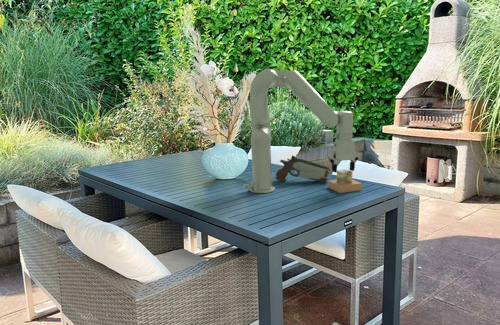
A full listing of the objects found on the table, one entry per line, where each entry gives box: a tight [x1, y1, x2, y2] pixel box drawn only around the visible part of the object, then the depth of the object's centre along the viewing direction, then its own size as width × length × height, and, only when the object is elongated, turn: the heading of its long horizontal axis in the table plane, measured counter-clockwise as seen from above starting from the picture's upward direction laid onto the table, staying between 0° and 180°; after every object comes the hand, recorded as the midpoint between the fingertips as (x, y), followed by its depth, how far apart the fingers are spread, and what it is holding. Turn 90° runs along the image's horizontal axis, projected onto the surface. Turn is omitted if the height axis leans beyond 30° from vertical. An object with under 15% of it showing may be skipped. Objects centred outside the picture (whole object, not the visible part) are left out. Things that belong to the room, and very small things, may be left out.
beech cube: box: [336, 169, 353, 184], centre depth 211 cm, size 6×6×6 cm
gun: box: [274, 155, 331, 184], centre depth 230 cm, size 5×27×15 cm, turn 79°
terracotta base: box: [327, 179, 363, 194], centre depth 212 cm, size 12×12×4 cm
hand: (343, 171), depth 211 cm, fingers open, 9 cm apart
